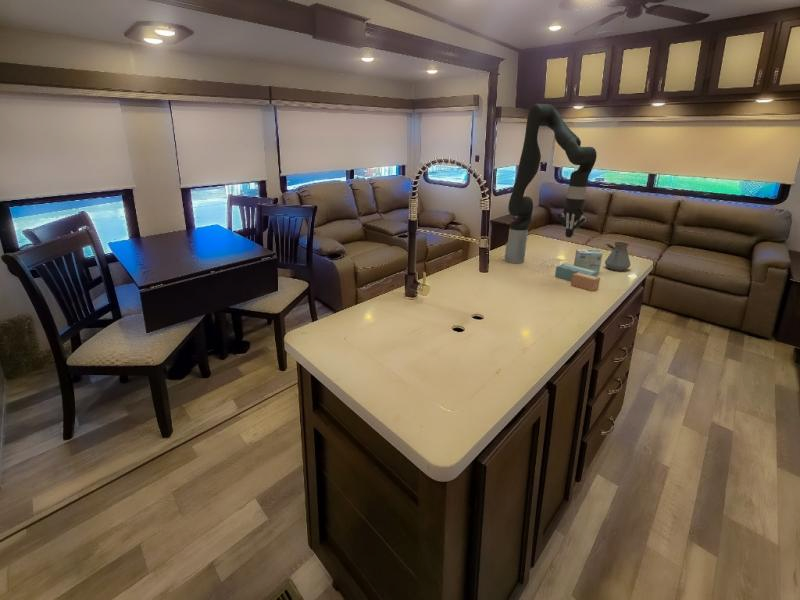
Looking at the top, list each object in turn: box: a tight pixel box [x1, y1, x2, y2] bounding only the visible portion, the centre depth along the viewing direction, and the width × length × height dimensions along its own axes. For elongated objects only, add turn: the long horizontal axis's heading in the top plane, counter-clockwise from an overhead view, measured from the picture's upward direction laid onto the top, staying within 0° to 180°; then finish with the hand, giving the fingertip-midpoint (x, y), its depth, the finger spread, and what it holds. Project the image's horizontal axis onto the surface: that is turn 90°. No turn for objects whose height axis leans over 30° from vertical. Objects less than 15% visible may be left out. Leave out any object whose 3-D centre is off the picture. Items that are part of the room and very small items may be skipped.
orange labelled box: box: [570, 272, 601, 292], centre depth 180 cm, size 10×5×5 cm, turn 41°
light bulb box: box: [573, 248, 603, 275], centre depth 199 cm, size 11×7×11 cm, turn 84°
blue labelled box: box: [554, 262, 599, 282], centre depth 190 cm, size 16×8×5 cm, turn 41°
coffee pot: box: [603, 241, 631, 272], centre depth 201 cm, size 21×12×15 cm, turn 127°
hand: (568, 237), depth 181 cm, fingers closed
